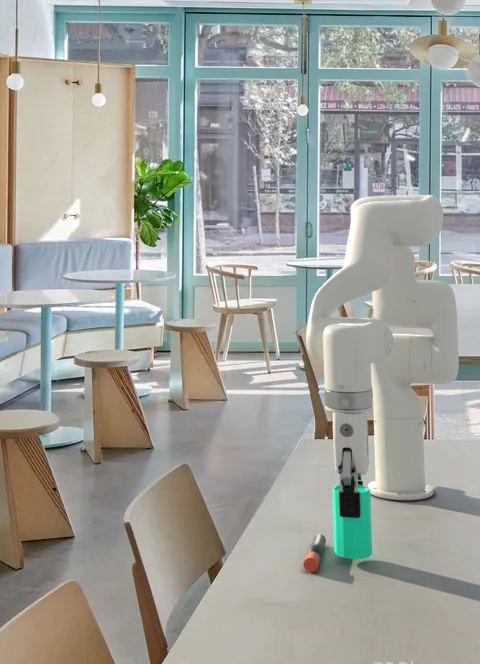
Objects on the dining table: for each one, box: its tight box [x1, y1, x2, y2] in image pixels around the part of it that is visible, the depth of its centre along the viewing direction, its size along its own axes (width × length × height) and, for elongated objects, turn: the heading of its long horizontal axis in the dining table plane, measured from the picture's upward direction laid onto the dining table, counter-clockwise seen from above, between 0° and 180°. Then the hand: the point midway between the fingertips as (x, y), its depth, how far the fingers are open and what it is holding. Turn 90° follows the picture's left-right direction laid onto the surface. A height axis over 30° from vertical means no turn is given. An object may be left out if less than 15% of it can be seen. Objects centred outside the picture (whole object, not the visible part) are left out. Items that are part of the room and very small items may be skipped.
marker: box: [302, 533, 327, 573], centre depth 168 cm, size 14×2×2 cm, turn 162°
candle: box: [332, 483, 373, 560], centre depth 167 cm, size 6×6×12 cm
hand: (351, 509), depth 167 cm, fingers closed on candle, 6 cm apart
